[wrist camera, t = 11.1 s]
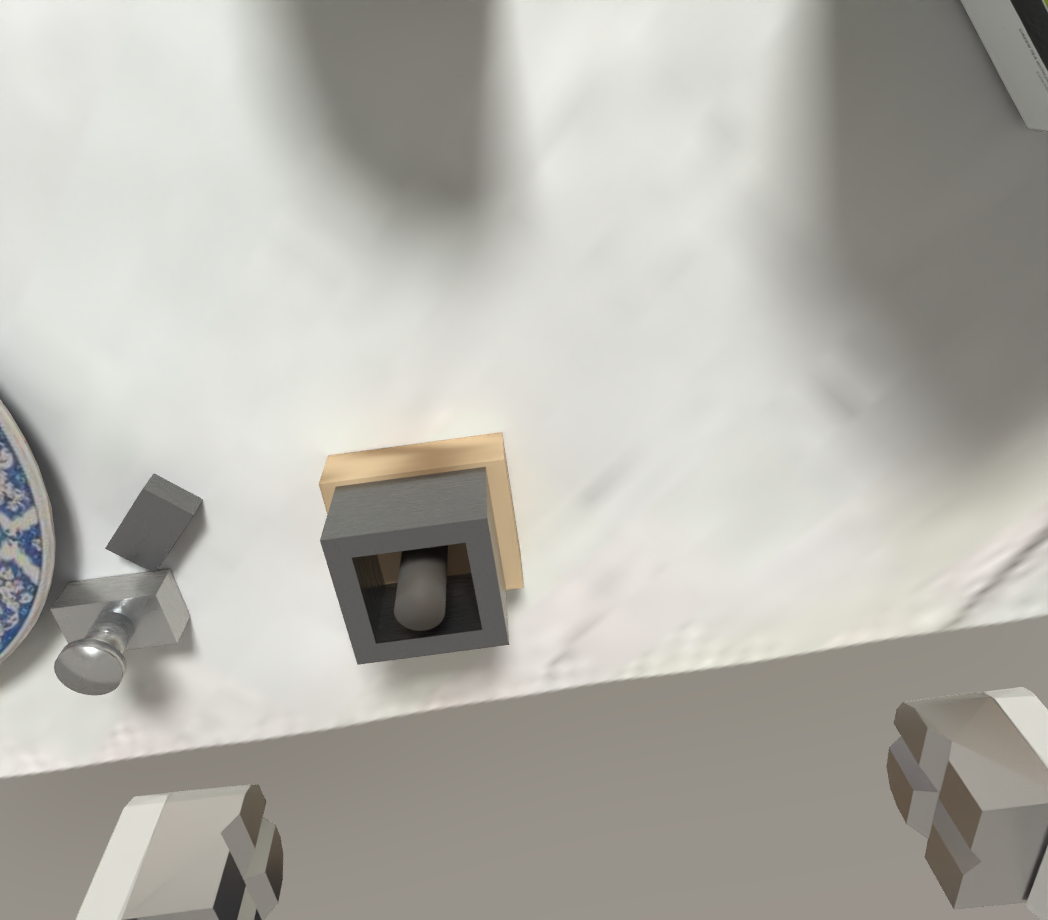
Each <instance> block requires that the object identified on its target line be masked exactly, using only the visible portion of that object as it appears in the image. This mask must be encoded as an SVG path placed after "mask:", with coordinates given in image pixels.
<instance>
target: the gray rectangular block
mask: <svg viewBox="0 0 1048 920" xmlns="http://www.w3.org/2000/svg"><path fill="white" fill-rule="evenodd" d="M202 500H203V499H201V498H199V497H197V496H196V495H194V494H192V493H190V492H188V491H186V490H184V489H182V488H180V487H179V486H177V485H175V484H173V483H171V482H169V481H167V480H165V479H164V478H162V477H160V476H158V475H156V474H153V475H152V477H151V478H150V480H149V481H148V482H147V484H146V485H145V487H144V488H143V490H142V491H141V493H140V494H139V496H138V497H137V499H136V501H135V502H134V504H133V505H132V507H131V509H130V510H129V512H128V513H127V515H126V517H125V518H124V520H123V521H122V523H121V524H120V526H119V528H118V529H117V531H116V532H115V534H114V536H113V537H112V539H111V540H110V542H109V543H108V545H107V547H106V548H105V549H107V550H109V551H111V552H113V553H115V554H117V555H119V556H121V557H123V558H125V559H127V560H129V561H131V562H133V563H135V564H138V565H140V566H142V567H144V568H146V569H148V570H150V571H152V572H154V573H155V572H156V570H157V569H158V567H159V566H160V564H161V563H162V562H163V560H164V559H165V557H166V556H167V554H168V553H169V551H170V550H171V548H172V547H173V545H174V544H175V542H176V541H177V539H178V538H179V536H180V535H181V533H182V532H183V530H184V529H185V528H186V526H187V525H188V523H189V522H190V520H191V519H192V517H193V516H194V514H195V512H196V511H197V509H198V507H199V505H200V503H201V502H202Z"/></svg>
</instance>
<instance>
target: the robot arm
mask: <svg viewBox="0 0 1048 920" xmlns="http://www.w3.org/2000/svg"><path fill="white" fill-rule="evenodd" d="M894 724H895V726H896V728H897V730H898V731H899V733H900V735H901V737H900V738H899V739H898V740H897V741H895V742H894V744H892V745H891V746H890V747H889V753H888V759H887V772H888V778H889V784H890V789H891V791H892V794H893V797H894V800H895V802H896V805H897V807H898V809H899V811H900V813H901V814H902V816H903V818H904V820H905V822H906V824H907V825H909V826H910V827H912V828H913V829H915V830H916V831H917V832H919V833H920V834H922V835H923V836H925V837H926V838H927V839H928V842H927V847H926V853H925V859H926V860H927V862H928V864H929V866H930V868H931V869H932V871H933V873H934V875H935V876H936V878H937V880H938V882H939V884H940V886H941V887H942V889H943V891H944V892H945V894H946V896H947V898H948V900H949V901H950V903H951V905H952V907H953V909H964V908H974V907H984V906H994V905H1005V904H1015V903H1025V902H1027V903H1026V906H1025V907H1027V908H1028V909H1029V910H1030V911H1031V912H1033V913H1034V914H1035V915H1036V916H1038V917H1039V918H1040V919H1041V920H1048V710H1047V709H1046V708H1045V706H1044V705H1043V704H1042V703H1041V702H1040V701H1039V699H1038V698H1037V697H1036V696H1035V695H1034V694H1033V693H1032V692H1030V691H1029V690H1027V689H1025V688H1023V687H1019V688H1011V689H1003V690H994V691H986V692H981V693H978V692H973V693H965V694H958V695H951V696H944V697H936V698H930V699H922V700H915V701H908V702H903V703H902V704H901V705H900V706H899V707H898V708H897V710H896V715H895V720H894ZM265 805H266V799H265V797H264V795H263V793H262V791H261V788H260V786H259V785H242V786H232V787H222V788H211V789H203V790H202V789H201V790H191V791H181V792H172V793H163V794H155V795H146V796H137V797H134V798H133V799H132V800H131V801H130V802H129V803H128V804H127V805H126V807H125V808H124V809H123V810H122V813H121V815H120V818H119V820H118V822H117V824H116V827H115V829H114V831H113V834H112V836H111V838H110V841H109V843H108V845H107V848H106V850H105V852H104V854H103V857H102V859H101V862H100V864H99V866H98V869H97V871H96V873H95V875H94V878H93V880H92V882H91V885H90V887H89V889H88V892H87V894H86V896H85V899H84V901H83V903H82V905H81V908H80V910H79V912H78V915H77V917H76V919H75V920H264V919H265V918H266V917H267V916H268V915H269V913H270V912H271V911H272V910H273V909H274V907H275V906H276V905H277V904H278V901H279V896H280V891H281V886H282V880H283V849H282V844H281V837H280V834H279V832H278V829H277V827H276V824H274V823H273V822H271V821H269V820H268V819H266V818H264V817H263V814H264V810H265Z"/></svg>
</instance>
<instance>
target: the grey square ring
mask: <svg viewBox="0 0 1048 920" xmlns="http://www.w3.org/2000/svg"><path fill="white" fill-rule="evenodd" d="M320 542H321V545H322V548H323V552H324V555H325V558H326V561H327V565H328V568H329V571H330V575H331V578H332V581H333V585H334V588H335V591H336V595H337V598H338V601H339V604H340V608H341V611H342V614H343V618H344V621H345V624H346V628H347V631H348V634H349V638H350V641H351V644H352V647H353V651H354V654H355V657H356V661H357V664H365V663H373V662H381V661H388V660H396V659H404V658H411V657H419V656H426V655H434V654H442V653H449V652H457V651H464V650H472V649H480V648H487V647H495V646H503V645H509V635H508V618H507V602H506V585H505V579H504V573H503V567H502V561H501V555H500V549H499V543H498V537H497V531H496V525H495V519H494V513H493V507H492V501H491V495H490V489H489V483H488V477H487V471H486V467H479V468H472V469H464V470H457V471H449V472H442V473H434V474H427V475H419V476H412V477H404V478H397V479H389V480H382V481H374V482H366V483H359V484H351V485H344V486H336V487H335V491H334V494H333V498H332V501H331V504H330V508H329V511H328V515H327V518H326V522H325V525H324V529H323V532H322V536H321V539H320ZM459 543H466V547H467V552H468V558H469V563H470V568H471V573H466V574H459V575H451V576H447V582H446V605H445V616H444V618H443V620H442V621H441V623H440V624H439V625H437V626H436V627H434V628H432V629H429V630H423V631H417V630H411V629H408V628H406V627H404V626H403V625H401V624H400V623H399V622H398V620H397V619H396V617H395V614H394V607H395V599H396V592H397V584H398V583H391V584H385V582H384V578H383V574H382V571H381V567H380V563H379V559H378V555H377V554H384V553H391V552H399V551H407V550H414V549H422V548H429V547H437V546H444V545H452V544H459Z"/></svg>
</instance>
